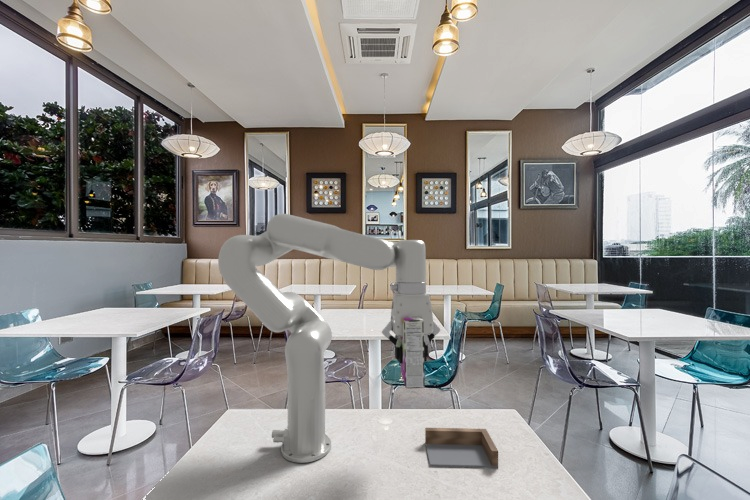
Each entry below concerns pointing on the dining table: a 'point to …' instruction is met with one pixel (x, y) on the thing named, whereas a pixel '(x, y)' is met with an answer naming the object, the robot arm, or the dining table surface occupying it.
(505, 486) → the dining table surface
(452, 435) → the walnut corner walls
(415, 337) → the candy bar box
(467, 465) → the slate mat
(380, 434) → the dining table surface
